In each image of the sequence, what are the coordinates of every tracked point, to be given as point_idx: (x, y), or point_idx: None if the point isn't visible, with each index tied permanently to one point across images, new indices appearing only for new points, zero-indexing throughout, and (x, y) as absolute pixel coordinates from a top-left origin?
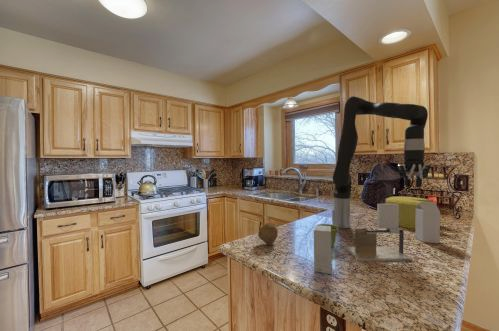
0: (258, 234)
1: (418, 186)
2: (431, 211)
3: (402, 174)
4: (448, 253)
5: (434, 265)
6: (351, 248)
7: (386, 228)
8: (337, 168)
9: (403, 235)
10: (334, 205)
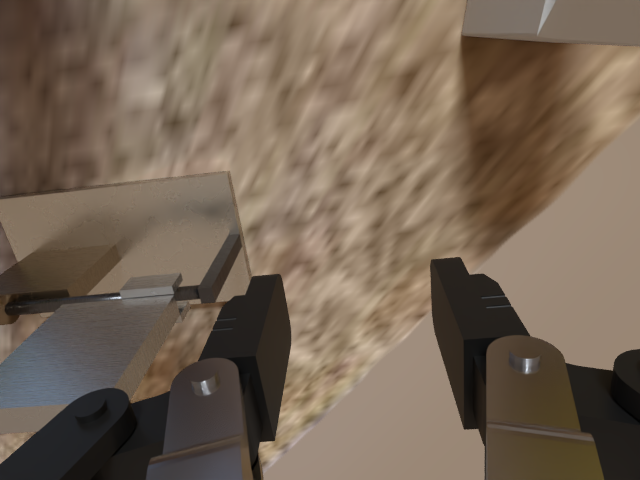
0: None
1: (434, 317)
2: (617, 40)
3: (80, 468)
4: (476, 196)
5: (319, 319)
6: (17, 221)
7: (124, 288)
8: None
9: (221, 287)
10: None
